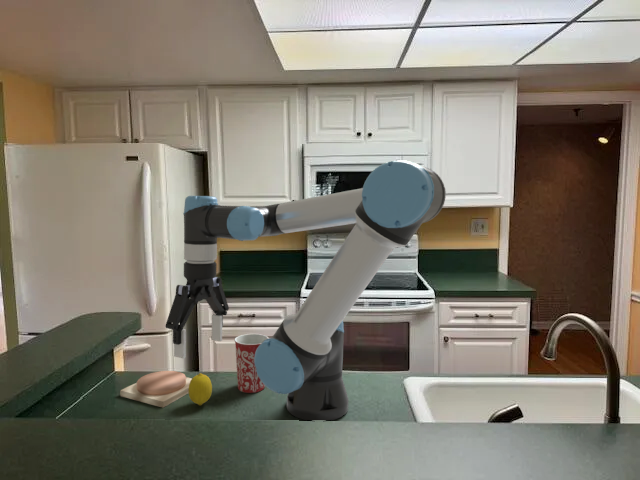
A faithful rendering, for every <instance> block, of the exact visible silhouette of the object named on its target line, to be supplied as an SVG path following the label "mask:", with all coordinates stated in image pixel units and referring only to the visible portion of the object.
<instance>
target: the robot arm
mask: <svg viewBox="0 0 640 480" xmlns="http://www.w3.org/2000/svg"><path fill="white" fill-rule="evenodd" d="M446 192H447V191H446V187H445V184H444V182H443V179H442V178H441V177H440V176H439V174H437V172H435V171H434V170H432V169H431V168H429V167H426V166H422V165H421V164H418V163H416V162H414V161H410V160H405V159H398V160H392V161H387V162H385V163H384V162H383V163H382V164H380V165H378V166H377V167H376V168H375V169H373V170H372V171H371V172H370V173H369V175H368V176H367V177H366V180H364V184H363V186H362V187H361V188H357V189H351V190H345V191H341V192H335V193H328V194H325V195H317V196H312V197H308V198H301V199H298V200H297V199H296V200H291V201H285V202H280V203H275V204H270V205H269V204H268V205H259V206H258V205H220V204H219V203H218V198H217V197H216V196H211V195H210V196H209V195H188V196H187V197H185V198H184V208H183V212H182V213H183V224H184V225H183V227H184V228H183V237H184V239H183V242H184V243H183V247H184V249H183V259H184V260H185V262H184V263H183V277H184V278H185V280H186V283H185V285H182V284H177V285H176V288H175V295H174V298H173V301H172V305H171V306H170V307H171V308H170V311H169V313H168V317H167V320H166V323H165V325H164V326H165V328H166V329H168V330H172V344H173V356H174V358H180V359H185V358H186V356H187V355H186V354H187V353H186V352H187V351H186V350H187V349H186V348H187V331H186V330H187V329H185V328H184V327H185V326H186V323H187V321H188V319H190V316H191V314H192V312H193V309H194V307H195V306H196V305H198V303H199V302H201V301H203V300H205V301H206V302H207V304H208V306H209V307H210V309H211V310H212V312H213V313H214V314H211V340H212V341H215V342H222V341H223V325H224V316H227V315H228V311H229V309H230V307H229V304H228V300H227V298H226V295H225V291H224V289H223V281H222V278H221V277H219V276H217V268H218V267H217V266H218V265H217V263H216V260H217V258H218V238H220V239H221V238H222V239H229V240H238V241H241V242H243V241H256V240H257V239H258V237H261V238H262V237H273V236H274V237H275V236H279V235H283V234H284V235H285V234H289V233H295V232H303V231H304V232H305V231H310V230H318V229H324V228H331V227H332V228H333V227H338V226H345V225H346V226H347V225H354V224H355V225H354V226H353V227H352V229H351V231H349V234H348V235H347V237H346V238H345V239H344V241H343V242H342V244H341V246H340V247H339V249H338V250H337V252H336V253H335V255H334V256H333V258H332V259H331V260H330V262H329V264H328V265H327V266H326V268H325V270H324V271H323V273H322V274H321V276H320V277H319V278H318V281H317V282H316V283H315V285H314V287H313V288H312V290H311V291H310V293H309V294H308V296H307V297H306V299H305V300H304V302H303V303H302V304H301V306H300V308H299V309H298V311H297V312H296V313H290V314H288V315H287V316H285V317H284V319H283V320H282V322H281V323H280V325H279V327H278V328H277V329H276V331H275V332H274V334H273V335H272V336H271V337H269V339H266V340H265V341H264V342H262V343H261V344H260V345H259V346H258V348H257V350H256V352H255V357H254V364H255V367H256V372H257V374H258V376H259V378H260V380H261V381H262V383H263V384H264V385H265V387H266V388H267V389H269V390H270V391H272V392H274V393H276V394H278V395H279V394H282V395H287V396H286V410H287V411H288V412H289V414H291V415H292V416H293V417H295V418H297V419H299V420H303V421H307V420H331V421H334V420H338V419H340V418H342V417H343V415H344V416H345V415H346V414H347V413H348V411H349V402H350V401H349V396H348V393H347V389H346V387H345V383H344V380H343V361H344V359H343V358H344V337H345V335H344V334H345V330H344V319H345V318H346V317H347V315H348V313H349V312H350V311H351V309H352V308H353V307H354V305H355V304H356V302H357V301H358V299H359V298H360V297H361V295H362V294H363V292H364V291H365V289H367V287H368V285H369V284H370V283H371V281H372V280H373V279H374V277H375V275H376V274H377V273H378V271H379V270H380V269H381V267H382V265H383V264H384V263H385V261H386V260H387V259H388V257H390V254H391V253H392V251H393V250H394V249H396V248H403V247H406V246H407V245H408V244H409V242H410V240H411V239H412V238H413V236H414V235H415V234H416V232H417V231H418V230H419V229H420V227H421V225H422V224H424V223H427V222H429V221H431V220H433V219H434V218H436V216H438V215H439V213H440V212H441V211H442V209H443V207H444V205H445V201H446V195H447V194H446Z"/></svg>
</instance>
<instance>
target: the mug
mask: <svg viewBox="0 0 640 480" xmlns="http://www.w3.org/2000/svg"><path fill="white" fill-rule="evenodd" d="M266 339H270V337H268V336H267V335H264V334H260V333H246V334H240V335H239V336H236V337H235V338H234V343H235V356H236V358H235V362H236V377H237V389H238V391H240V392H242V393H245V394H255V393H258V392H261V391H263V390H264V389H265V387H266V386H265V385H264V384H263V383H262V381H261V380H260V378H259V376H258V374H257V372H256V367H255V364H254V357H255V352H256V350H257V348H258V346H259V345H260V344H261V343H262V342H264V341H265V340H266Z"/></svg>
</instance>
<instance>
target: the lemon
mask: <svg viewBox="0 0 640 480" xmlns="http://www.w3.org/2000/svg"><path fill="white" fill-rule="evenodd" d="M212 393H213V385H212V381H211V379H210V377H209V376H207V375H206V374H203V373H201V372H199V373H198V374H196V375H195V376H193V377H192V380H191V381H190V384H189V393H188V396H189V399H190V401H192V402H193V403H194V404H197V406H202V405H203V404H204V403H206V402H208V400H209V399H210V398H211V396H212Z"/></svg>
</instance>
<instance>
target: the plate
mask: <svg viewBox="0 0 640 480" xmlns="http://www.w3.org/2000/svg"><path fill="white" fill-rule="evenodd" d="M192 378H193V377H192ZM192 378H191V377H187V376H186V374H185V373H183V372H180V371H176V370H160V371H154V372H151V373H147V374H145V375H143V376H141V377H140V378H138V379H137V381H136V383H133V384H131V385H128V386H126V387H124V388H122V389H120V392H119V396H120V397H121V398H127V399H130V400H134V401H137V402H141V403H143V404H144V403H145V404H148V405H152V406H155V407H160V408H163V409H164V408H165V407H167V406H169V405H171V404H172V403H174V402H176V401H177V400H179V399H181V398H182V397H184V396H187V394H188V395H189V384H190V381H191V380H192Z"/></svg>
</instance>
